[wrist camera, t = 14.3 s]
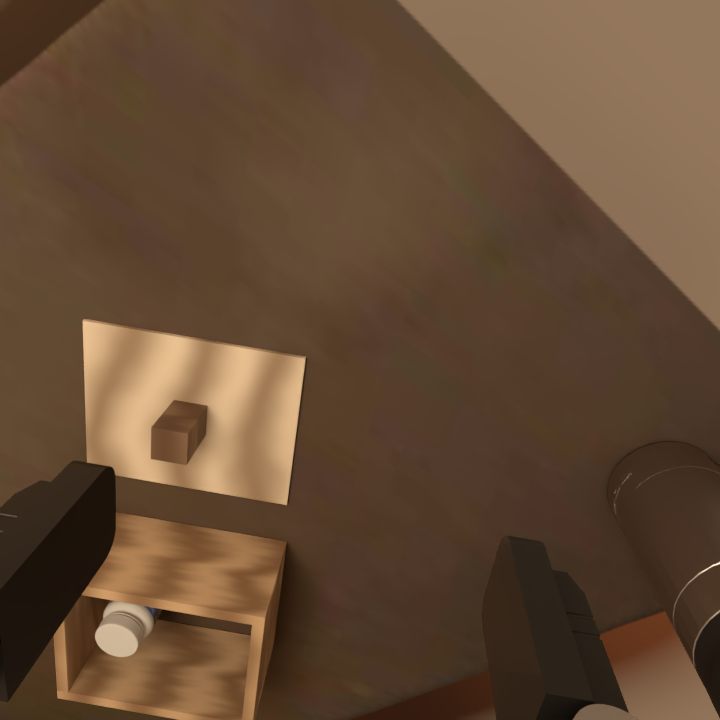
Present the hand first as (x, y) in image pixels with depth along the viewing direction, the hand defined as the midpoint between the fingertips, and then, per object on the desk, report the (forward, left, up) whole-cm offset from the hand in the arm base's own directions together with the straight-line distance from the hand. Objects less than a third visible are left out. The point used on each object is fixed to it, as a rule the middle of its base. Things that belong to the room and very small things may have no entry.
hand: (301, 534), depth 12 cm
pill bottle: (+17, +38, -36) cm, 55 cm away
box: (+13, +38, -36) cm, 54 cm away
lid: (+14, +19, -37) cm, 44 cm away
